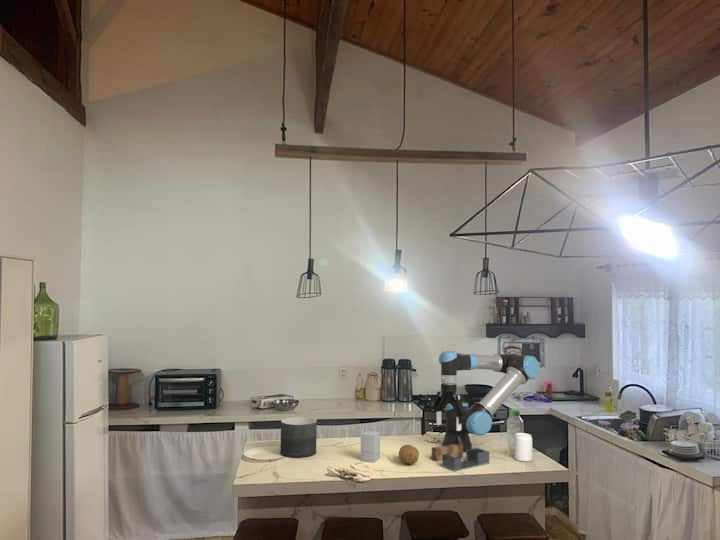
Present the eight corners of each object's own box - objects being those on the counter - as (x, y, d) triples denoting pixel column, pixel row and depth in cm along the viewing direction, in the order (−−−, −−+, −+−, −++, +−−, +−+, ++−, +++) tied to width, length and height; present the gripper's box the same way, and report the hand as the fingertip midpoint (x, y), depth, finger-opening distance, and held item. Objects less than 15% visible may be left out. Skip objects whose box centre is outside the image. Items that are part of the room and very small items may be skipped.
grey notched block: (454, 471, 237) (454, 458, 237) (442, 466, 244) (442, 454, 244) (489, 463, 249) (489, 451, 250) (476, 459, 256) (476, 447, 256)
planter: (273, 455, 259) (274, 422, 260) (291, 446, 275) (292, 415, 276) (305, 459, 252) (306, 426, 253) (322, 450, 268) (322, 418, 269)
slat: (436, 462, 252) (436, 449, 252) (431, 460, 255) (431, 447, 255) (462, 457, 259) (462, 445, 259) (458, 456, 262) (458, 443, 262)
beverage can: (533, 463, 251) (533, 437, 252) (515, 461, 253) (515, 436, 254) (531, 458, 259) (531, 433, 260) (514, 457, 261) (514, 432, 262)
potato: (415, 458, 256) (415, 441, 256) (421, 467, 242) (421, 450, 243) (395, 459, 255) (395, 442, 256) (400, 468, 241) (400, 450, 242)
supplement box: (380, 458, 255) (380, 432, 256) (374, 462, 249) (374, 435, 249) (366, 456, 258) (366, 430, 259) (360, 460, 252) (360, 433, 253)
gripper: (425, 380, 267) (425, 423, 266) (462, 387, 247) (462, 433, 245) (436, 379, 271) (436, 421, 270) (473, 386, 251) (473, 431, 250)
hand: (448, 427), depth 258 cm, fingers open, 13 cm apart
